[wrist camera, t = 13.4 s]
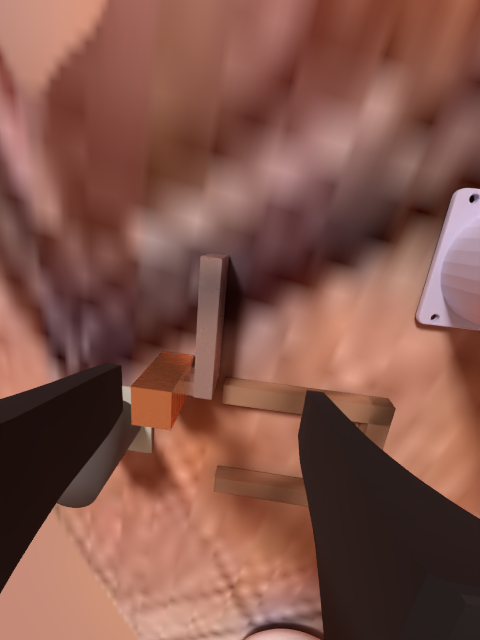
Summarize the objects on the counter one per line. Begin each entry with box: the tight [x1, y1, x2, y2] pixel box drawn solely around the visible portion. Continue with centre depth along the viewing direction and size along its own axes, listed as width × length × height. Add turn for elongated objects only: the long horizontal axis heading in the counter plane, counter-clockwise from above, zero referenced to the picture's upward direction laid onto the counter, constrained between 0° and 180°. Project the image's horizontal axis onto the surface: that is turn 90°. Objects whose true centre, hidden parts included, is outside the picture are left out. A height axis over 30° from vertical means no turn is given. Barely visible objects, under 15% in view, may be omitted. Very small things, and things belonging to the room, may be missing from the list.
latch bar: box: [131, 253, 229, 430], centre depth 17 cm, size 4×10×5 cm, turn 174°
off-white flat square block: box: [122, 386, 152, 454], centre depth 22 cm, size 6×6×1 cm
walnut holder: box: [214, 377, 396, 507], centre depth 21 cm, size 12×10×1 cm
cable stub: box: [57, 400, 141, 508], centre depth 19 cm, size 4×4×6 cm
